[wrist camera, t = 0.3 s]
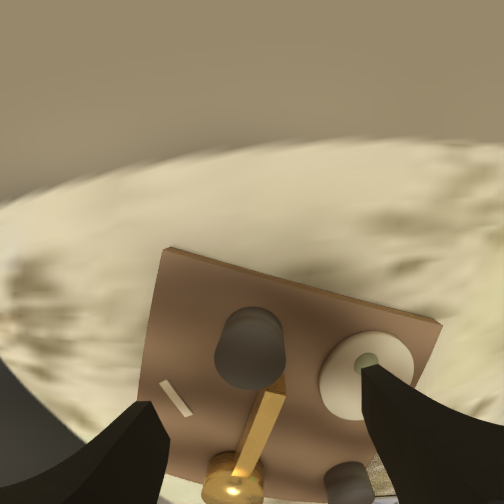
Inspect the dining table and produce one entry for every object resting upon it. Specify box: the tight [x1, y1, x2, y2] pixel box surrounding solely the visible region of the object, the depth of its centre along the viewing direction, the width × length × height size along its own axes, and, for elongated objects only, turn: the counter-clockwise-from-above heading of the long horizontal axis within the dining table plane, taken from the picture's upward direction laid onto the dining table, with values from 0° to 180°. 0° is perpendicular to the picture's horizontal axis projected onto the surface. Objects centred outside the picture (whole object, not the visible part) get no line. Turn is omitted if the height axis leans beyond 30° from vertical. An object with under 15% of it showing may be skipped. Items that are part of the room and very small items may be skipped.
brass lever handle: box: [201, 375, 286, 504], centre depth 17 cm, size 12×4×3 cm, turn 164°
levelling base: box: [137, 247, 443, 504], centre depth 18 cm, size 19×19×5 cm
